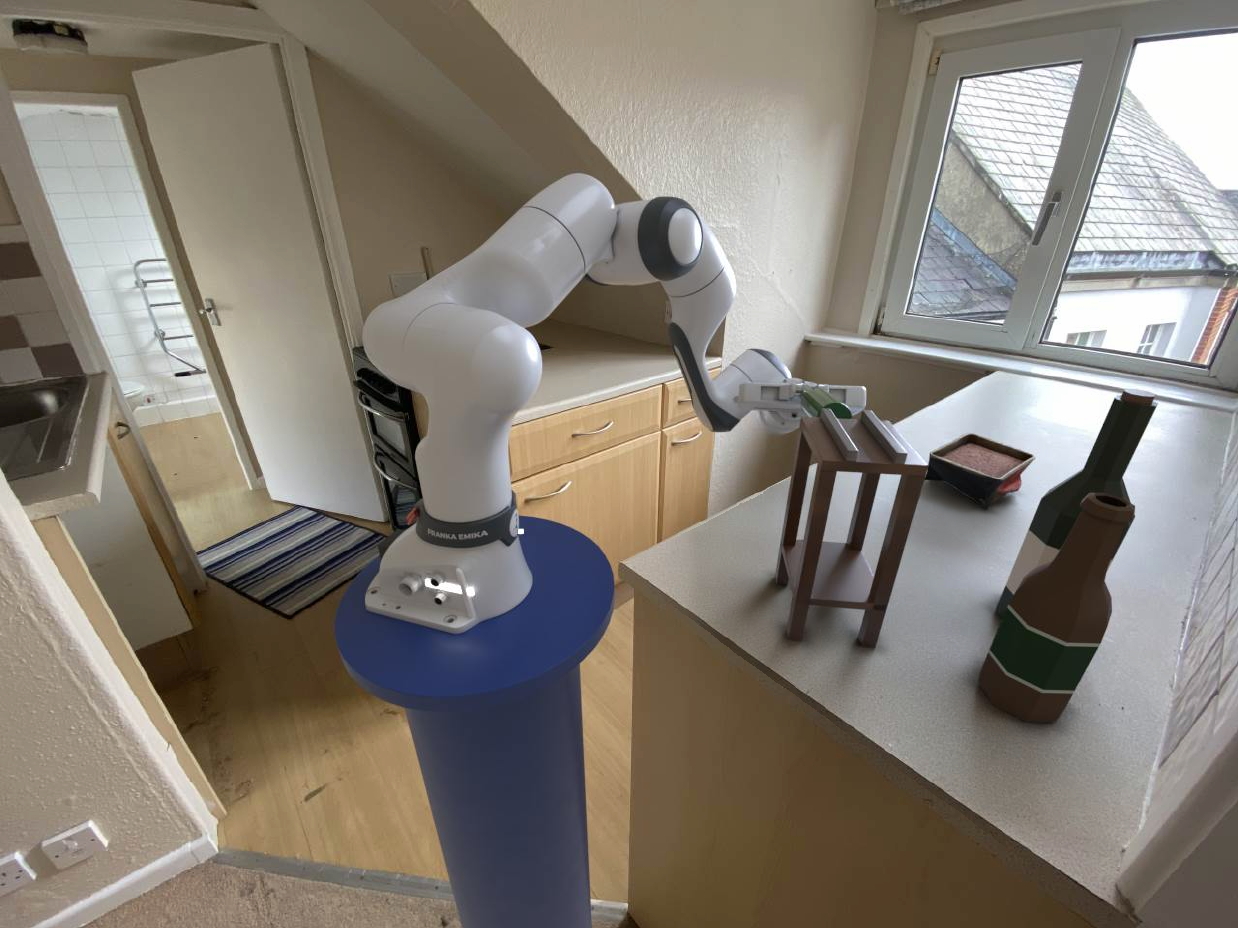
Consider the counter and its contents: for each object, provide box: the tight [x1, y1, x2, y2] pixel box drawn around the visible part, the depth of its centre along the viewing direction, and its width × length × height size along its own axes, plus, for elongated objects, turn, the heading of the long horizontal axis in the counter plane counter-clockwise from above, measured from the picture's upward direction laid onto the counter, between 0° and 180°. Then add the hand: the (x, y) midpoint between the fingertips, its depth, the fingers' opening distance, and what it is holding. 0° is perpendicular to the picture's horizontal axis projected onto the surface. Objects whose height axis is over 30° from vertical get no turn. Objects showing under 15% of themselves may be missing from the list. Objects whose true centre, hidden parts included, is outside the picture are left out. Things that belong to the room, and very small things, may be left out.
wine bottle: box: [994, 388, 1159, 620], centre depth 59 cm, size 8×8×30 cm
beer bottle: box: [977, 493, 1136, 724], centre depth 51 cm, size 8×8×24 cm
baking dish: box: [924, 432, 1036, 511], centre depth 95 cm, size 14×18×10 cm
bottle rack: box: [774, 408, 928, 649], centre depth 62 cm, size 10×12×25 cm
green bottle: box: [797, 385, 853, 419], centre depth 76 cm, size 18×4×4 cm, turn 173°
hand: (810, 388), depth 81 cm, fingers closed on green bottle, 2 cm apart
